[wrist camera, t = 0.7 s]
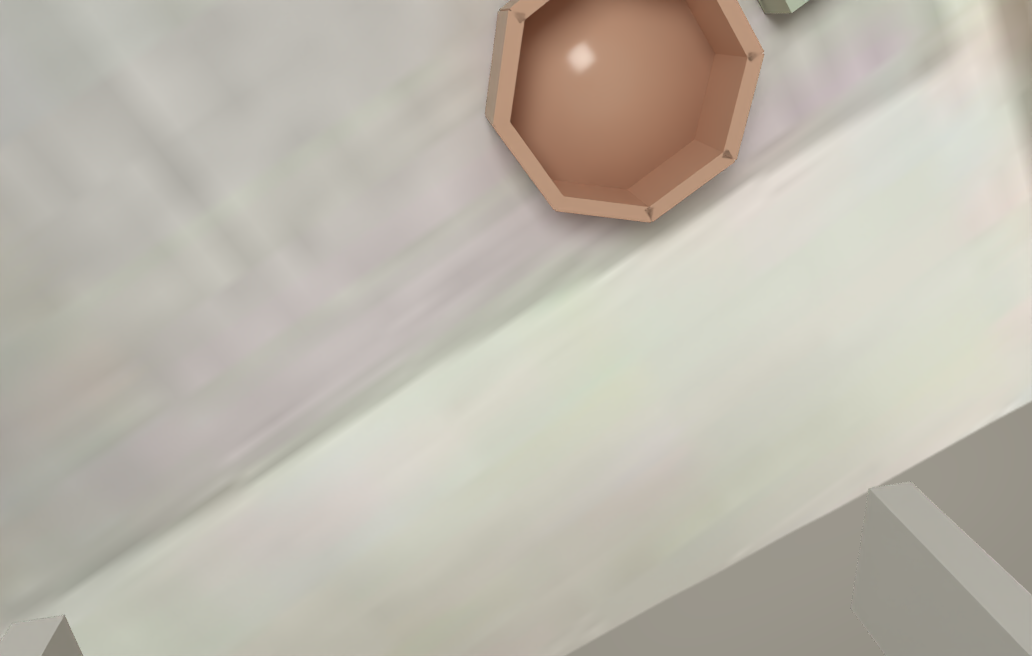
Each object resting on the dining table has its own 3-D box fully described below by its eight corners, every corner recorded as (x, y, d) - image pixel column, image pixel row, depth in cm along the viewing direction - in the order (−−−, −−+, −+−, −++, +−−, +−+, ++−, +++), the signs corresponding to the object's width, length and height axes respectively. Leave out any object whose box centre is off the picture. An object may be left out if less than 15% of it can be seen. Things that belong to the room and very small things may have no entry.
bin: (441, 56, 33) (444, 61, 29) (640, -106, 31) (671, -124, 28) (575, 239, 37) (594, 265, 33) (756, 104, 36) (797, 115, 32)
